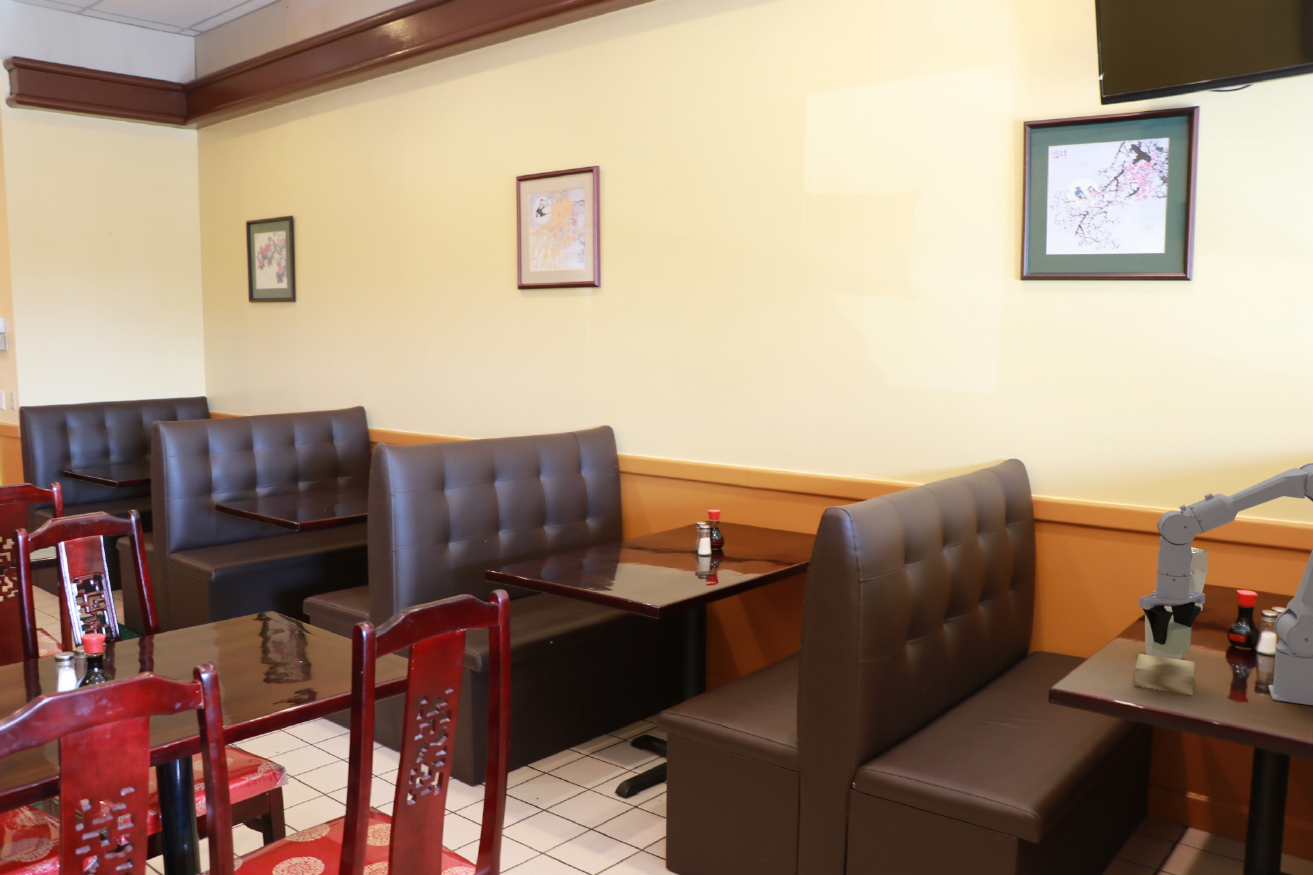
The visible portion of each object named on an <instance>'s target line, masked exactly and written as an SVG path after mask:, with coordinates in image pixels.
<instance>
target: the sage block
mask: <svg viewBox="0 0 1313 875" xmlns="http://www.w3.org/2000/svg"><path fill="white" fill-rule="evenodd" d="M1191 640H1192V626H1191V627H1188V626H1185V625H1182V624H1179V623H1176V622H1173V621H1169V625H1168V629H1167V637H1166V642H1165V644H1163V645H1161V644H1159V643H1156V642H1154V639H1153V644H1152V648H1153V649H1156V650H1159V651H1161V652H1164V653H1167V654H1169V655H1177V654H1182V655H1183V654H1184V655H1185V654H1190V653H1191Z"/></svg>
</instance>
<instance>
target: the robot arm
mask: <svg viewBox="0 0 1313 875" xmlns="http://www.w3.org/2000/svg"><path fill="white" fill-rule="evenodd" d="M1203 497H1204V499H1201V500H1199V501H1197V502H1194V503H1192V504H1189V505H1187V506H1186V505H1185V504H1183V505H1180V506H1179V507H1178V508H1179V510H1180V511H1179V510H1175V509H1174V510H1168V511H1166V512H1164V513H1163V514H1161V517H1159V520H1158V522H1157V523H1156V527H1157V530H1158V532H1159V533H1160V536H1159V542H1158V543H1159V547H1158V554H1157V569H1156V570H1157V571H1156V588H1155V590H1153V591H1152V593H1151V594H1148V595H1145V596H1140V597H1138V608H1141V609H1142V611H1143V612H1144V615H1145V614H1146V616H1147V618H1148V621H1149V623H1150V626H1151V630H1152V634H1153V639H1154V642H1156V643H1159V644H1161V645H1163V644H1165V642H1166V637H1167V629H1168V625H1169V621H1170V619H1171V617H1172V615H1173V619H1174V622H1176V623H1179V624H1182V625H1185V626H1188V627H1191V628H1192V625H1193V624H1194V621H1195V620H1196V619H1197V617H1198V616H1199V615H1200V613H1201V612H1202V611H1201V607H1199V606H1196V605H1195V603H1199V604H1202V605H1205V603H1206V594H1205V593H1203V592H1202V593H1200V592H1189V591H1190V573H1191V556H1192V552H1191V547H1192V542H1193V540H1194V539H1195V538H1196V535H1202V534H1205V533H1207V532H1209V531H1211V530H1214V529H1218V528H1219V527H1221V526H1222V527H1223V526H1225V525H1228V524H1229V523H1232V522H1234V521H1235V520H1236V517H1237V515H1238V513H1240V512H1242V511H1245V510H1247V509H1250V508H1252V507H1253V508H1254V507H1256V506H1258V505H1261V504H1264V503H1267V502H1270V501H1273V500H1275V499H1279V498H1281V497H1286V498H1296V499H1301V500H1302V499H1305V498H1306V499H1308V500H1310V501H1311V502H1312V503H1313V462H1311V463H1310V462H1309V463H1306V464H1304V465H1302V466H1300V467H1293V468H1290V469H1286V470H1285V471H1283V472H1280V473H1279V474H1276V475H1274V476H1272V477H1270V478H1267V479H1264V480H1263V481H1260V482H1258V483H1256V484H1254V485H1252V486H1249V487H1247V488H1245V489H1243V490H1241V491H1238V492H1236V493H1233V494H1231V495H1229V496H1228V495H1224V494H1221V493H1216V494H1212V493H1211V492H1210V493H1207V494H1205V495H1204V496H1203ZM1298 584H1299V585H1298V588H1297V590H1296V593H1295V595H1294V597H1292V599H1290V600H1289V601H1288V603H1287V605H1286V608H1285V609H1284V611H1282V612H1281V613H1280V614H1279V615H1278V616H1277V617H1276V619H1275V621H1274V625H1273V626H1274V631H1275V634H1276V635H1277V637H1279V641H1278V642H1277V643H1276V645H1275V655H1274V656H1275V657H1274V668H1273V670H1274V672H1273V682H1272V683H1273V684H1268V690H1269V693H1270V695H1271V698H1272V700H1273V701H1278V702H1287V703H1293V704H1300V705H1301V704H1302V705H1308V706H1313V548H1312V550H1311V552H1310V555H1309V558H1308V560H1307V562H1306V565H1305V568H1304V571H1303V574H1302V577H1301V580H1300V582H1299V583H1298ZM1165 606H1166V607H1171V609H1172V612H1170V611H1167V610H1166V608H1165Z"/></svg>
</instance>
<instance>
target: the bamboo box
mask: <svg viewBox="0 0 1313 875" xmlns="http://www.w3.org/2000/svg"><path fill="white" fill-rule="evenodd" d="M1195 663H1196V662H1195V661H1192V660H1185V659H1180V660H1179V659H1172V658H1165V657H1158V656H1151V655H1146V654H1144V653H1138V656H1137V660H1136V663H1135V669H1134V683H1133V684H1134V685H1133V686H1134V687H1137V686H1141V687H1140V688H1144V687H1146V689H1150V688H1153V689H1152V690H1156V689H1158V690H1157V691H1164V692H1169V691H1171V692H1172V693H1176V694H1177V693H1178V694H1183V695H1190V696H1193V694H1194V693H1193V692H1194V681H1195V680H1194V678H1195V665H1196V664H1195ZM1171 692H1170V693H1171Z"/></svg>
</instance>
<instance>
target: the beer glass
mask: <svg viewBox="0 0 1313 875" xmlns="http://www.w3.org/2000/svg"><path fill="white" fill-rule="evenodd" d="M1191 552H1192V556H1191V573H1190V591H1189V592H1200V593H1203V590H1204V587H1205V583H1206V580H1207V579H1206V578H1207V574H1208V564H1209V563H1208V550H1206V549H1203V548H1198V547H1192V546H1191ZM1195 605H1196V606H1199V607H1201V612H1202V611H1203V610H1204V606H1203V605H1204V604H1199V603H1195Z"/></svg>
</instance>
